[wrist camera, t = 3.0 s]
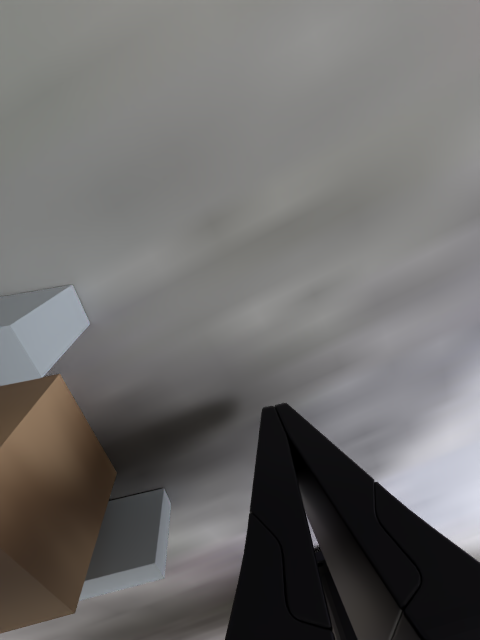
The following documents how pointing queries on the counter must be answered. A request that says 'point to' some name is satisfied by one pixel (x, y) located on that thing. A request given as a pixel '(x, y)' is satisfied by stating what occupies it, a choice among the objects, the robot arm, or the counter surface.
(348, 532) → the robot arm
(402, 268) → the counter surface
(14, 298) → the channel
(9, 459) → the walnut block
